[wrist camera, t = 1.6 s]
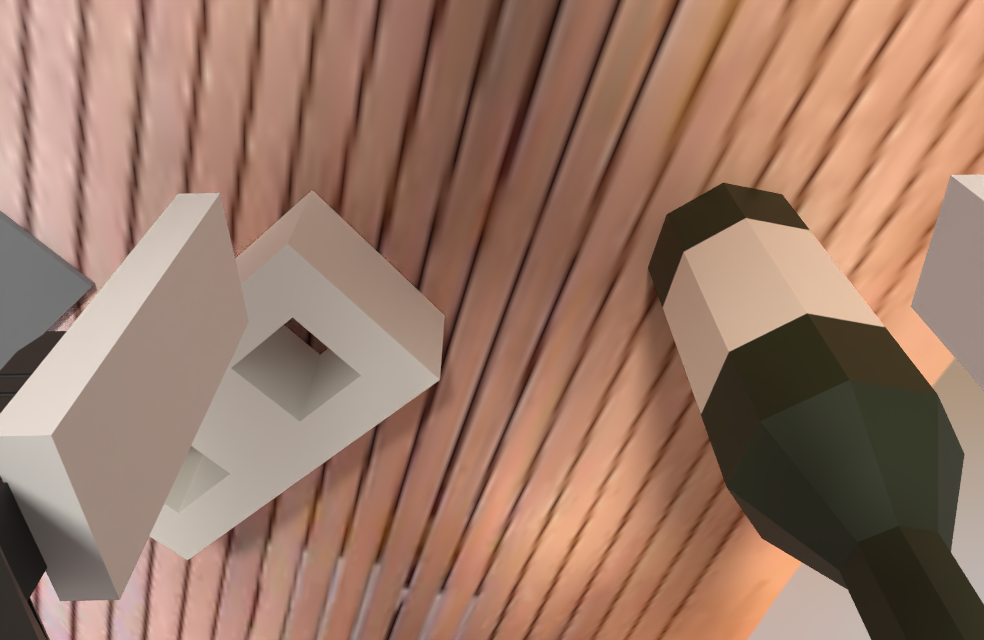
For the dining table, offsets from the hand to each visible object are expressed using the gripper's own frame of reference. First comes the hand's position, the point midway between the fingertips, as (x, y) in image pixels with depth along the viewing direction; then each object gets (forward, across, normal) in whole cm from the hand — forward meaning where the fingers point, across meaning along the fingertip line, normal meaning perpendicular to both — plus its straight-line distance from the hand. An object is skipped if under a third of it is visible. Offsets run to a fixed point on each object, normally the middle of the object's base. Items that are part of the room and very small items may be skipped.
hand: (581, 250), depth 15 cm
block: (+25, -15, -19) cm, 35 cm away
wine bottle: (+25, +11, -13) cm, 30 cm away
